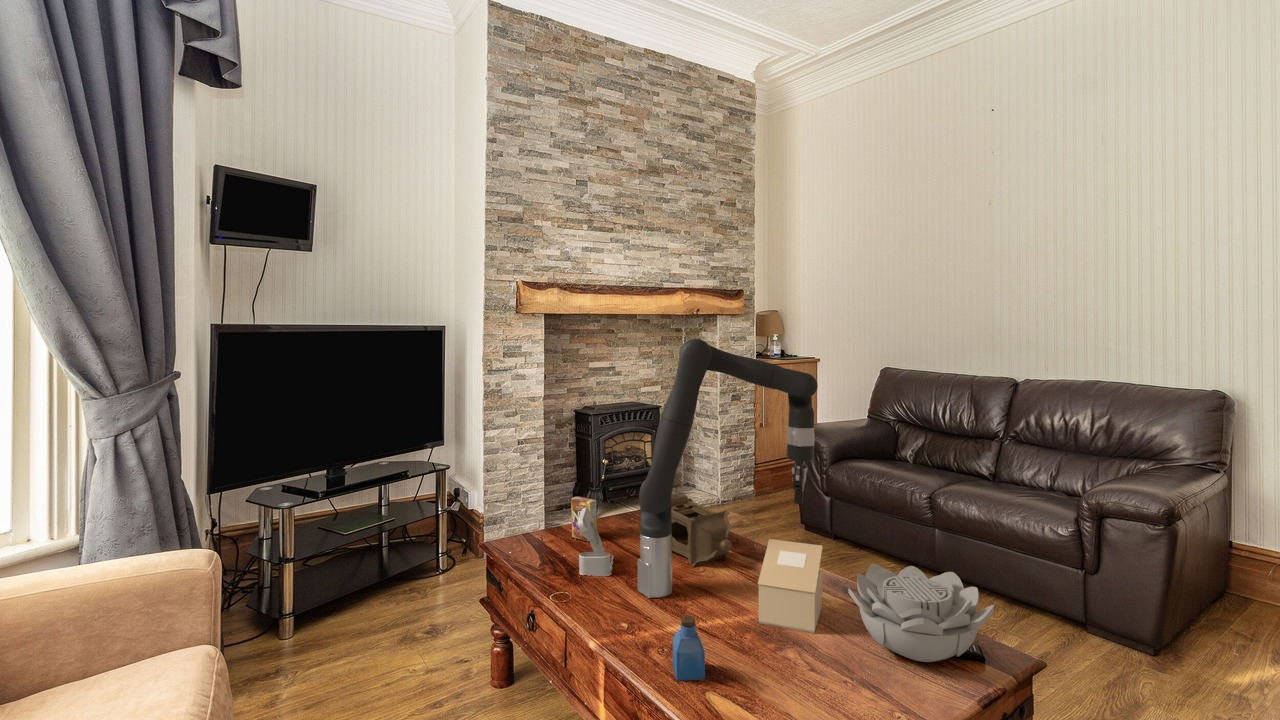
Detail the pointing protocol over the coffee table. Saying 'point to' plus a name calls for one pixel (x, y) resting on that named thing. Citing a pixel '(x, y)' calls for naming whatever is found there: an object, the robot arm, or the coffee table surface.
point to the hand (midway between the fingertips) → (798, 503)
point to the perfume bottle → (688, 652)
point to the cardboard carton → (790, 607)
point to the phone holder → (596, 560)
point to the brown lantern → (698, 531)
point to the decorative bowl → (919, 612)
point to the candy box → (577, 507)
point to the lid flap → (791, 566)
